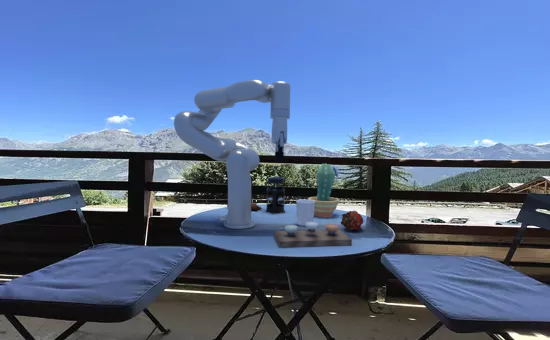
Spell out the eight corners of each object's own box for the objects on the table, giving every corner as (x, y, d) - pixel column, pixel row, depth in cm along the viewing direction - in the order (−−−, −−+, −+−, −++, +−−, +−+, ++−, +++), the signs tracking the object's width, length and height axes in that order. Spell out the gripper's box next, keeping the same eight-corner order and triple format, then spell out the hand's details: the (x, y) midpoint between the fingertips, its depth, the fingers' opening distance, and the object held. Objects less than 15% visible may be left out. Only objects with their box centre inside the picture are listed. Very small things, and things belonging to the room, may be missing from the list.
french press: (267, 208, 171) (268, 165, 169) (285, 209, 170) (286, 165, 168) (264, 213, 159) (264, 166, 157) (283, 214, 158) (284, 167, 156)
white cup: (313, 227, 136) (314, 203, 135) (294, 225, 137) (295, 202, 136) (315, 222, 143) (315, 200, 142) (297, 221, 145) (297, 199, 144)
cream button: (307, 233, 114) (307, 224, 113) (304, 230, 118) (304, 221, 118) (319, 233, 114) (319, 224, 114) (315, 229, 119) (316, 221, 118)
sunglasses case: (264, 208, 172) (261, 198, 168) (259, 217, 166) (256, 207, 163) (235, 205, 179) (231, 195, 176) (229, 213, 174) (225, 204, 170)
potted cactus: (340, 219, 149) (341, 165, 147) (306, 218, 152) (307, 164, 149) (338, 212, 164) (340, 163, 162) (308, 211, 167) (309, 162, 165)
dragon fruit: (347, 237, 127) (351, 234, 138) (366, 226, 125) (369, 223, 136) (335, 218, 129) (340, 216, 140) (353, 207, 127) (357, 206, 138)
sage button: (285, 236, 113) (286, 228, 112) (283, 233, 117) (283, 225, 117) (298, 236, 113) (298, 227, 113) (295, 232, 118) (295, 224, 117)
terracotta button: (327, 235, 115) (328, 227, 115) (324, 232, 119) (324, 224, 119) (339, 235, 116) (340, 227, 115) (335, 231, 120) (335, 223, 120)
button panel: (279, 247, 108) (279, 241, 108) (274, 236, 121) (274, 231, 121) (351, 245, 112) (351, 239, 112) (338, 234, 125) (338, 229, 125)
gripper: (268, 115, 133) (267, 160, 135) (273, 112, 119) (272, 163, 120) (286, 116, 134) (285, 161, 136) (293, 113, 120) (292, 163, 121)
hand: (279, 161), depth 128 cm, fingers closed
